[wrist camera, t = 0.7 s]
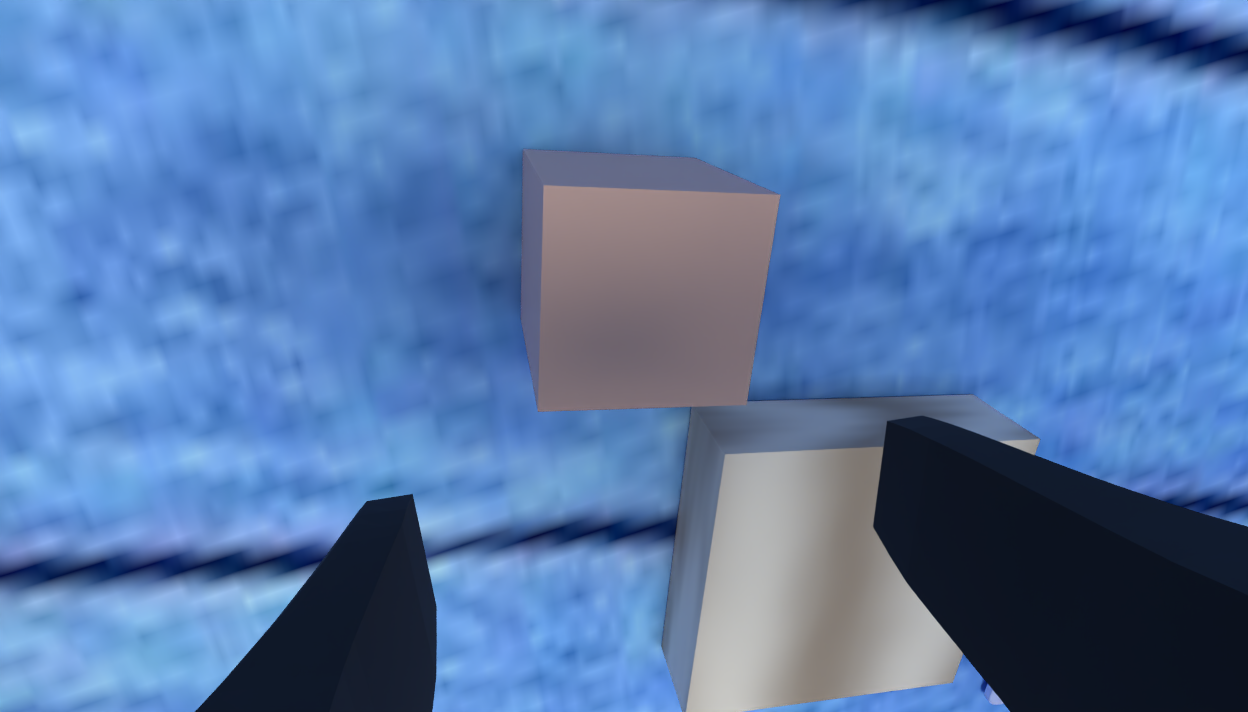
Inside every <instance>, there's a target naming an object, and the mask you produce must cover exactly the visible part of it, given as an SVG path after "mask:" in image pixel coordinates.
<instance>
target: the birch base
mask: <svg viewBox="0 0 1248 712" xmlns="http://www.w3.org/2000/svg"><path fill="white" fill-rule="evenodd" d="M922 415H923V416H926V417H930V418H934V419H937V420H940V421H944V422H947V423H950V424H953V425H956V426H959V427H961V428H964V429H967V430H970V431H972V432H975V433H978V434H981V435H983V436H986V437H989V438H991V439H994V440H996V441H999V442H1002V443H1004V444H1007V445H1010V446H1012V447H1015V448H1017V449H1020V450H1023V451H1025V452H1028V453H1030V454H1033V455H1035V452H1036V450H1037V447H1038V444H1039V441H1040V439H1039V438H1038V437H1036V436H1035V435H1033V434H1032V433H1030V432H1029V431H1027V430H1026V429H1024V428H1023V427H1021V426H1020V425H1018V424H1017V423H1015V422H1014V421H1012V420H1011V419H1009V418H1008V417H1006V416H1005V415H1003V414H1002V413H1000V412H999V411H997V410H996V409H994V408H993V407H991V406H990V405H988V404H987V403H985V402H984V401H982V400H981V399H979V398H978V397H976V396H975V395H973V394H970V395H938V396H905V397H872V398H839V399H807V400H774V401H747V405H733V406H701V407H692V408H691V416H690V424H689V432H688V439H687V447H686V455H685V463H684V471H683V479H682V487H681V495H680V503H679V511H678V519H677V527H676V535H675V543H674V551H673V559H672V567H671V575H670V583H669V591H668V599H667V607H666V615H665V623H664V631H663V639H662V650H663V653H664V656H665V659H666V662H667V666H668V669H669V672H670V675H671V678H672V681H673V684H674V687H675V690H676V693H677V696H678V700H679V703H680V706H681V709H682V712H742V711H749V710H756V709H764V708H771V707H778V706H786V705H793V704H800V703H808V702H815V701H822V700H830V699H837V698H844V697H851V696H859V695H866V694H873V693H881V692H888V691H895V690H903V689H910V688H917V687H925V686H932V685H939V684H947V683H953V680H954V677H955V675H956V672H957V669H958V666H959V663H960V661H961V658H962V655H963V653H962V651H961V650H960V649H959V648H958V646H957V645H956V644H955V643H954V642H953V640H952V639H951V638H950V637H949V635H948V634H947V633H946V632H945V631H944V629H943V628H942V627H941V626H940V624H939V623H938V622H937V621H936V619H935V618H934V617H933V616H932V614H931V613H930V612H929V610H928V609H927V608H926V607H925V605H924V604H923V603H922V602H921V600H920V599H919V598H918V597H917V595H916V594H915V593H914V592H913V590H912V589H911V588H910V586H909V585H908V584H907V582H906V581H905V579H904V578H903V576H902V575H901V573H900V571H899V570H898V568H897V567H896V565H895V564H894V562H893V560H892V559H891V557H890V556H889V554H888V552H887V550H886V549H885V547H884V545H883V543H882V542H881V540H880V538H879V537H878V535H877V533H876V531H875V530H874V528H873V522H874V514H875V507H876V499H877V492H878V484H879V477H880V469H881V462H882V454H883V447H884V440H885V432H886V425H887V421H890V420H896V419H902V418H909V417H915V416H922Z"/></svg>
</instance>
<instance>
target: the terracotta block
mask: <svg viewBox="0 0 1248 712" xmlns="http://www.w3.org/2000/svg"><path fill="white" fill-rule="evenodd" d="M779 200H780V195H779V194H777V193H775V192H772V191H770V190H768V189H766V188H763V187H761V186H759V185H756V184H754V183H752V182H749V181H747V180H745V179H743V178H740V177H738V176H736V175H733V174H731V173H729V172H726V171H724V170H722V169H720V168H717V167H715V166H713V165H710V164H708V163H706V162H703V161H701V160H699V159H697V158H689V157H669V156H650V155H631V154H611V153H592V152H573V151H554V150H534V149H523V179H522V257H521V323H522V328H523V334H524V339H525V345H526V350H527V355H528V361H529V366H530V371H531V377H532V382H533V388H534V393H535V398H536V404H537V409H538V412H544V411H575V410H607V409H638V408H670V407H701V406H733V405H747V399H748V393H749V386H750V380H751V374H752V368H753V362H754V355H755V349H756V343H757V337H758V330H759V324H760V318H761V312H762V306H763V299H764V293H765V287H766V281H767V275H768V268H769V262H770V256H771V250H772V244H773V237H774V231H775V225H776V219H777V212H778V206H779Z"/></svg>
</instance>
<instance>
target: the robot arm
mask: <svg viewBox="0 0 1248 712" xmlns="http://www.w3.org/2000/svg"><path fill="white" fill-rule="evenodd" d="M873 528H874V530H875V531H876V533H877V535H878V537H879V538H880V540H881V542H882V543H883V545H884V547H885V549H886V550H887V552H888V554H889V556H890V557H891V559H892V560H893V562H894V564H895V565H896V567H897V568H898V570H899V571H900V573H901V575H902V576H903V578H904V579H905V581H906V582H907V584H908V585H909V586H910V588H911V589H912V590H913V592H914V593H915V594H916V595H917V597H918V598H919V599H920V600H921V602H922V603H923V604H924V605H925V607H926V608H927V609H928V610H929V612H930V613H931V614H932V616H933V617H934V618H935V619H936V621H937V622H938V623H939V624H940V626H941V627H942V628H943V629H944V631H945V632H946V633H947V634H948V635H949V637H950V638H951V639H952V640H953V642H954V643H955V644H956V645H957V646H958V648H959V649H960V650H961V651H962V653H963V654H964V655H965V656H966V658H967V659H968V660H969V661H970V662H971V664H972V665H973V666H974V667H975V669H976V670H977V671H978V672H979V674H980V675H981V676H982V677H983V678H984V680H985V681H986V682H987V683H988V684H987V687H986V689H985V693H984V695H985V697H986V699H987V700H988V701H989V702H990V703H991V704H993V705H999V704H1005V706H1006V707H1007V708H1008V709H1009V711H1010V712H1248V527H1247V526H1244V525H1240V524H1237V523H1233V522H1230V521H1226V520H1223V519H1219V518H1215V517H1212V516H1208V515H1205V514H1202V513H1199V512H1195V511H1192V510H1189V509H1186V508H1182V507H1179V506H1176V505H1173V504H1170V503H1167V502H1164V501H1161V500H1158V499H1155V498H1152V497H1149V496H1146V495H1143V494H1140V493H1137V492H1134V491H1131V490H1128V489H1126V488H1123V487H1120V486H1117V485H1114V484H1111V483H1108V482H1106V481H1103V480H1100V479H1097V478H1094V477H1092V476H1089V475H1086V474H1083V473H1081V472H1078V471H1075V470H1073V469H1070V468H1067V467H1065V466H1062V465H1059V464H1057V463H1054V462H1051V461H1049V460H1046V459H1043V458H1041V457H1038V456H1036V455H1033V454H1030V453H1028V452H1025V451H1023V450H1020V449H1017V448H1015V447H1012V446H1010V445H1007V444H1004V443H1002V442H999V441H996V440H994V439H991V438H989V437H986V436H983V435H981V434H978V433H975V432H972V431H970V430H967V429H964V428H961V427H959V426H956V425H953V424H950V423H947V422H944V421H940V420H937V419H934V418H930V417H926V416H923V415H922V416H915V417H909V418H902V419H896V420H890V421H887V425H886V432H885V440H884V447H883V454H882V462H881V469H880V477H879V484H878V492H877V499H876V507H875V514H874V522H873ZM436 647H437V633H436V602H435V597H434V593H433V588H432V583H431V579H430V574H429V569H428V565H427V560H426V555H425V550H424V546H423V541H422V536H421V532H420V527H419V522H418V517H417V513H416V508H415V503H414V499H413V494H410V495H404V496H398V497H391V498H385V499H378V500H372V501H367V502H366V503H365V504H364V505H363V507H362V508H361V509H360V510H359V511H358V513H357V514H356V515H355V517H354V518H353V519H352V521H351V522H350V524H349V525H348V526H347V528H346V529H345V530H344V532H343V533H342V534H341V536H340V537H339V539H338V540H337V541H336V543H335V544H334V545H333V547H332V548H331V550H330V551H329V552H328V554H327V555H326V556H325V558H324V559H323V560H322V562H321V563H320V564H319V566H318V567H317V568H316V570H315V571H314V572H313V574H312V575H311V576H310V577H309V579H308V580H307V581H306V583H305V584H304V585H303V586H302V588H301V589H300V590H299V591H298V593H297V594H296V595H295V597H294V598H293V599H292V600H291V602H290V603H289V604H288V605H287V607H286V608H285V609H284V611H283V612H282V613H281V614H280V616H279V617H278V618H277V619H276V621H275V622H274V623H273V624H272V625H271V627H270V628H269V629H268V630H267V631H266V632H265V634H264V635H263V636H262V637H261V638H260V639H259V641H258V642H257V643H256V644H255V645H254V646H253V648H252V649H251V650H250V651H249V652H248V653H247V654H246V656H245V657H244V658H243V659H242V660H241V661H240V663H239V664H238V665H237V666H236V667H235V668H234V670H233V671H232V672H231V673H230V674H229V675H228V676H227V678H226V679H225V680H224V681H223V682H222V683H221V684H220V685H219V687H218V688H217V689H216V690H215V691H214V692H213V693H212V694H211V695H210V696H209V697H208V698H207V699H206V701H205V702H204V703H203V704H202V705H201V706H200V707H199V708H198V709H197V710H196V711H195V712H432V709H433V700H434V691H435V682H436Z"/></svg>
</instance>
